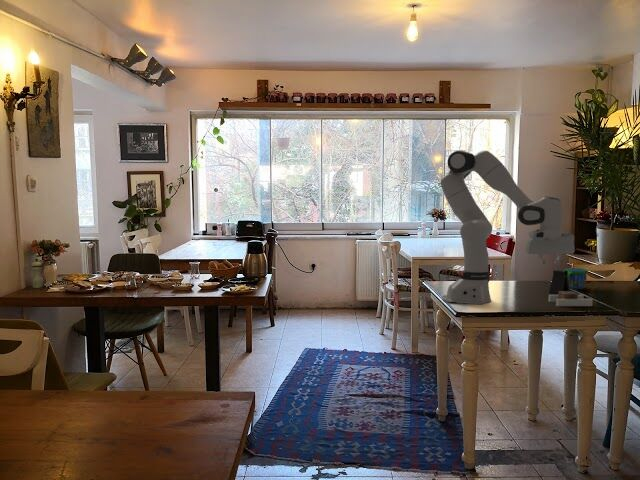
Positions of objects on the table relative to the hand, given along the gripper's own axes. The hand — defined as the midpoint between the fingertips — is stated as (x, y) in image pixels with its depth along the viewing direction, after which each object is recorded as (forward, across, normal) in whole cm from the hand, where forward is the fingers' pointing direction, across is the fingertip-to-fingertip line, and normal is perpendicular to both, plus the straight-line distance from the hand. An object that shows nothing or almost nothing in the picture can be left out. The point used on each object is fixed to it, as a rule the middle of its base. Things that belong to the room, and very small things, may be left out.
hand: (549, 263), depth 228 cm
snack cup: (+19, -30, -40) cm, 53 cm away
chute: (+19, -10, 0) cm, 21 cm away
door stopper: (+19, -17, -28) cm, 38 cm away
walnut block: (+18, -8, 0) cm, 20 cm away
